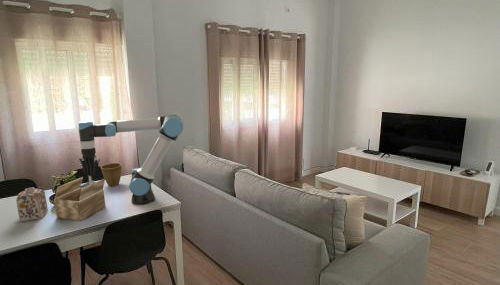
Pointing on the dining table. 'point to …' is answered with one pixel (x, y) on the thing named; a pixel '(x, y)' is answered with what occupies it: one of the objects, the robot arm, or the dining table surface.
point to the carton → (78, 205)
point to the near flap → (91, 189)
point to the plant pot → (112, 173)
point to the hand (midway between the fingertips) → (92, 185)
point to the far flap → (68, 187)
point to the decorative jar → (31, 204)
